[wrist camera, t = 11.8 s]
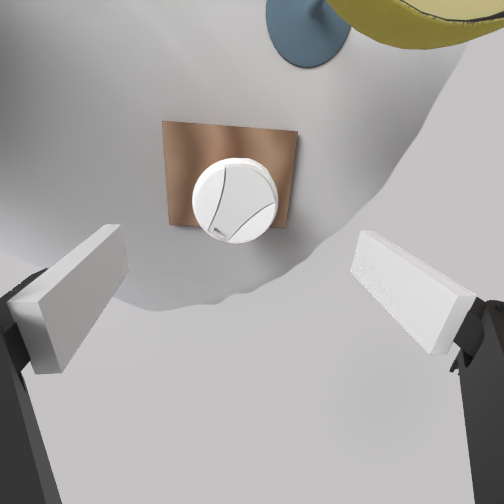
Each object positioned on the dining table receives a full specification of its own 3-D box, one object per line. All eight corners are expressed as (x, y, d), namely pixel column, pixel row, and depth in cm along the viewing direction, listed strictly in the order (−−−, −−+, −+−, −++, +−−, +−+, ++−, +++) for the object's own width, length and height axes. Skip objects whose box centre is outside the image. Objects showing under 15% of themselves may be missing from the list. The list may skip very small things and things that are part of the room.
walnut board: (171, 221, 40) (169, 224, 38) (164, 121, 34) (162, 120, 32) (283, 224, 42) (285, 227, 41) (294, 131, 36) (297, 131, 35)
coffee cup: (238, 218, 39) (249, 262, 26) (190, 188, 36) (173, 220, 23) (270, 171, 37) (300, 192, 23) (221, 135, 34) (223, 136, 20)
